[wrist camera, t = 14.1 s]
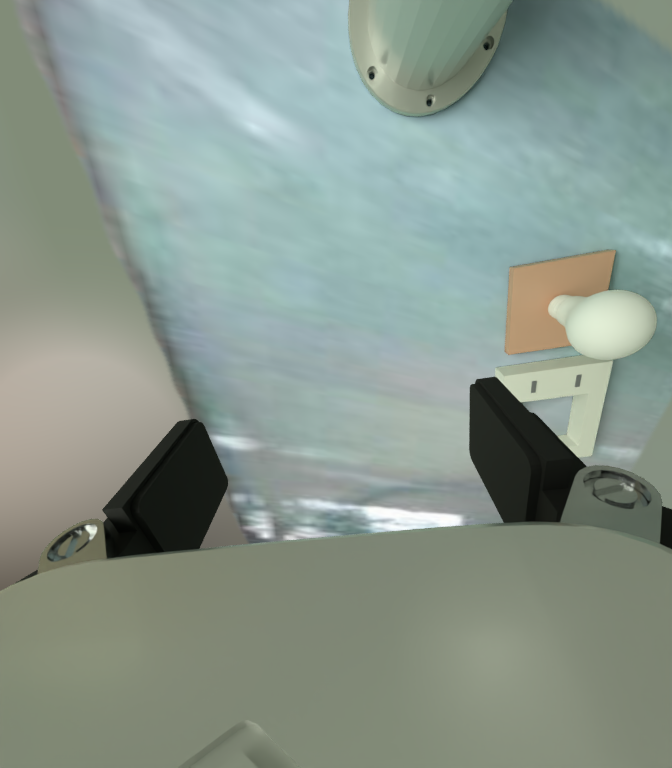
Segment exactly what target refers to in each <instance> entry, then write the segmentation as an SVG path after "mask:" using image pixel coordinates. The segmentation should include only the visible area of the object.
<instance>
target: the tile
mask: <svg viewBox="0 0 672 768" xmlns="http://www.w3.org/2000/svg"><path fill="white" fill-rule="evenodd" d="M615 252H616V250H603V251H597V252H592V253H586V254H580V255H575V256H569V257H564V258H558V259H552V260H547V261H541V262H535V263H530V264H524V265H518V266H513V267H510V271H509V288H508V304H507V321H506V338H505V352H506V353H507V354H508V355H510V354H517V353H524V352H531V351H537V350H544V349H551V348H558V347H564V346H571V344H570V342H569V340H568V338H567V334H566V329H565V327H564V326H563V325H561V324H560V323H559V322H558V321H557V319H555V318H554V317H552V316H551V315H550V314H549V312H548V306H549V304H550V302H551V301H552V300H553V299H554V298H555V297H557V296H559V295H570V296H583V297H589V296H591V295H593V294H596V293H599V292H603V291H608V288H609V283H610V277H611V272H612V267H613V262H614V257H615Z"/></svg>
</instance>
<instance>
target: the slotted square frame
mask: <svg viewBox="0 0 672 768" xmlns="http://www.w3.org/2000/svg"><path fill="white" fill-rule="evenodd" d="M612 364H613V361H612V360H600V359H594V358H590V357H587V356H585V355H580V356H573V357H566V358H559V359H552V360H545V361H538V362H531V363H524V364H517V365H510V366H503V367H496V369H495V377H497V378H498V379H499V380H500V381H501V382H502V383H503V384H504V386H505V387H506V388H507V389H508V390H509V391H510V392H511V393H512V394H513V395H514V396H515V397H516V398H517V399H518V400H519V401H520V402H527V401H535V400H543V399H550V398H558V397H566V396H573V401H572V407H571V413H570V418H569V424H568V430H567V435H559V436H558V438H559V439H560V440H561V441H562V442H563V443H564V444H565V445H566V446H567V447H568V448H569V449H570V450H571V451H572V452H573V453H574V454H575V455H576V456H577V457H587V456H592V453H593V448H594V444H595V439H596V435H597V431H598V426H599V422H600V417H601V413H602V408H603V404H604V400H605V395H606V391H607V386H608V382H609V377H610V373H611V368H612Z"/></svg>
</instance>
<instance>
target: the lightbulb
mask: <svg viewBox="0 0 672 768" xmlns="http://www.w3.org/2000/svg"><path fill="white" fill-rule="evenodd" d="M548 312H549V314H550V315H551V316H552V317H554V318H555V319H557V321H558V322H559V323H560V324H561V325H563V326H564V327H565V329H566V334H567V338H568V340H569V342H570V344H571V345H572V346H573V347H574V348H575V350H576V351H578V352H579V353H581V354H583V355H585V356H587V357H590V358H594V359H600V360H614V359H619V358H623V357H626V356H629V355H631V354H633V353H635V352H637V351H638V350H640V349H641V348H643V347H644V346H645V345H646V344H647V343H648V342H649V341H650V339H651V338H652V336H653V335H654V332H655V330H656V325H657V316H656V312H655V310H654V307H653V306H652V305H651V304H650V302H649V301H648V300H647V299H645V298H644V297H642V296H641V295H639V294H637V293H634V292H631V291H627V290H608V291H603V292H599V293H596V294H593V295H591V296H589V297H583V296H570V295H559V296H557V297H555V298H554V299H553V300H552V301H551V302H550V304H549V306H548Z"/></svg>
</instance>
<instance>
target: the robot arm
mask: <svg viewBox="0 0 672 768" xmlns="http://www.w3.org/2000/svg"><path fill="white" fill-rule="evenodd" d="M512 2H513V0H349V11H348V30H349V39H350V47H351V52H352V55H353V59H354V63H355V66H356V69H357V71H358V73H359V75H360V78H361V80H362V82H363V83H364V85H365V86H366V88H367V89H368V91H369V92H370V94H371V95H372V96H373V97H374V98H375V99H376V100H377V101H378V102H379V103H380V104H381V105H383V106H385V107H386V108H388V109H390V110H391V111H393V112H396V113H399V114H402V115H405V116H418V117H419V116H425V115H431V114H434V113H436V112H439V111H441V110H444V109H446V108H447V107H449V106H450V105H452V104H453V103H455V102H456V101H458V100H459V99H460V98H461V97H462V96H463V95H464V94H465V93H466V92H467V91H469V90H470V89H471V87H472V86H473V85H474V84H475V83H476V81H477V80H478V79H479V78H480V77H481V75H482V73H483V72H484V70H485V69H486V67H487V66H488V64H489V63H490V61H491V59H492V57H493V55H494V53H495V51H496V49H497V46H498V44H499V41H500V38H501V35H502V31H503V28H504V25H505V21H506V16H507V10H508V7H509V6H510V4H511V3H512ZM483 45H486V46H487V50H485V49H484V48H483ZM370 74H374V76H375V78H374V79H373V80H371V79H369V75H370ZM428 100H430V101H431V106H427V104H426V102H427V101H428ZM469 450H470V456H471V459H472V461H473V463H474V465H475V467H476V469H477V471H478V473H479V475H480V477H481V479H482V481H483V483H484V485H485V487H486V489H487V491H488V493H489V494H490V496H491V498H492V500H493V502H494V504H495V506H496V508H497V510H498V512H499V514H500V516H501V518H502V520H503V522H504V523H492V524H475V525H464V526H451V527H437V528H425V529H413V530H402V531H390V532H378V533H366V534H354V535H343V536H332V537H321V538H309V539H298V540H287V541H276V542H265V543H255V544H244V545H233V546H224V547H214V548H203V549H199V548H200V546H201V544H202V541H203V539H204V537H205V535H206V533H207V531H208V529H209V526H210V524H211V522H212V520H213V517H214V516H215V513H216V511H217V509H218V507H219V505H220V502H221V500H222V498H223V496H224V494H225V492H226V489H227V486H228V479H227V476H226V474H225V472H224V469H223V467H222V465H221V463H220V460H219V458H218V456H217V454H216V451H215V449H214V447H213V445H212V442H211V440H210V438H209V435H208V433H207V431H206V429H205V426H204V425H203V423H201V422H199V421H198V420H196V419H191V420H184V421H179V422H177V423H176V424H175V426H174V427H173V428H172V429H171V430H170V431H169V433H168V434H167V435H166V436H165V437H164V438H163V440H162V441H161V442H160V443H159V444H158V445H157V447H156V448H155V449H154V450H153V451H152V452H151V454H150V455H149V456H148V457H147V458H146V459H145V461H144V462H143V463H142V464H141V465H140V466H139V468H138V469H137V470H136V471H135V472H134V473H133V475H132V476H131V477H130V478H129V479H128V480H127V482H126V483H125V484H124V485H123V486H122V487H121V489H120V490H119V491H118V492H117V493H116V495H114V497H113V498H112V499H111V500H110V501H109V502H108V504H107V505H106V506H105V507H104V508H103V512H104V513H105V514H106V516H107V517H108V518H107V519H106V520H105V521H104V523H103V522H102V521H101V520H99V519H90V520H86V521H82V522H80V523H78V524H76V525H73V526H72V527H70V528H68V529H67V530H65V531H63V532H62V533H61V534H60V535H58V536H57V537H56V538H55V539H54V540H53V541H52V542H51V543H49V545H47V547H46V548H45V550H44V551H43V552H42V555H41V557H40V560H39V567H38V570H36V571H35V572H33V573H31V574H30V575H28V576H26V577H25V578H23V579H21V580H20V581H18V582H16V583H15V584H13V585H11V586H10V587H8V588H6V589H4V590H2V591H0V768H672V509H669V508H666V507H663V506H662V499H661V495H660V493H659V492H658V491H657V490H656V488H655V487H654V486H653V485H651V484H650V483H649V482H647V481H646V480H645V479H643V478H641V477H639V476H638V475H635V474H634V473H632V472H629V471H626V470H623V469H620V468H616V467H610V466H598V465H595V466H589V467H587V466H586V465H585V464H584V463H583V462H582V461H581V460H580V459H579V458H578V457H577V456H576V455H575V454H574V453H573V452H572V451H571V450H570V449H569V448H568V447H567V446H566V445H565V444H564V443H563V442H562V441H561V440H560V439H559V438H558V436H557V435H556V434H555V433H554V432H553V431H552V430H551V429H550V428H549V427H548V426H547V425H546V424H545V423H544V422H543V421H542V420H541V419H540V418H539V417H538V416H537V415H536V414H534V413H531V412H529V411H528V410H527V409H526V408H525V407H524V406H523V404H522V403H521V402H520V401H519V400H518V399H517V398H516V397H515V396H514V395H513V394H512V393H511V392H510V391H509V390H508V389H507V388H506V387H505V386H504V384H503V383H502V382H501V381H500V380H499V379H498V378H497V377H490V378H483V379H477V380H476V382H475V384H471V385H470V441H469Z"/></svg>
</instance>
